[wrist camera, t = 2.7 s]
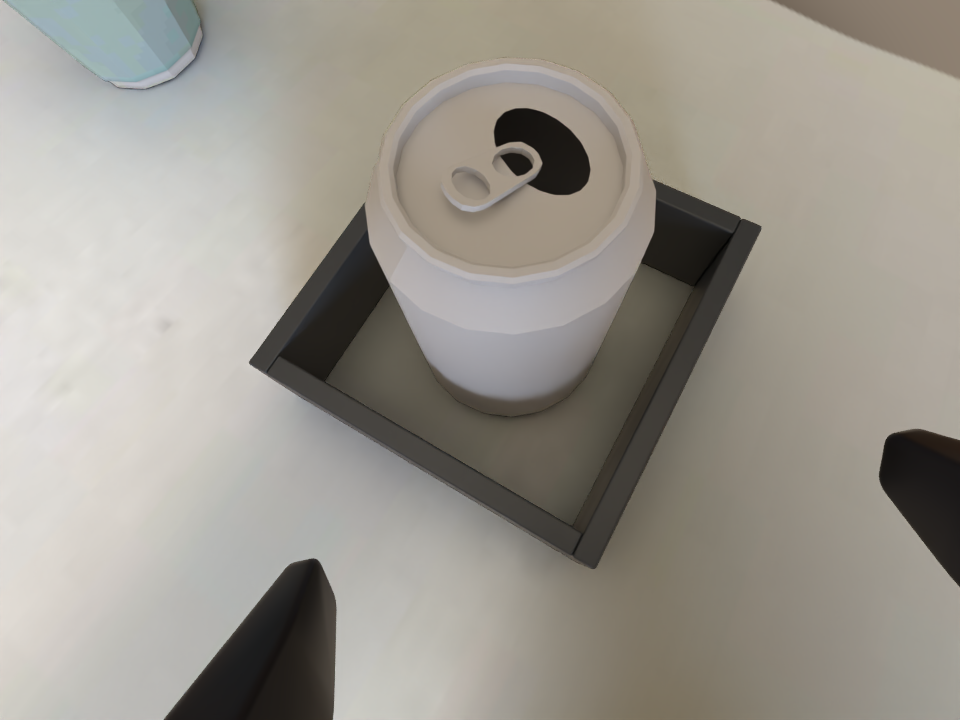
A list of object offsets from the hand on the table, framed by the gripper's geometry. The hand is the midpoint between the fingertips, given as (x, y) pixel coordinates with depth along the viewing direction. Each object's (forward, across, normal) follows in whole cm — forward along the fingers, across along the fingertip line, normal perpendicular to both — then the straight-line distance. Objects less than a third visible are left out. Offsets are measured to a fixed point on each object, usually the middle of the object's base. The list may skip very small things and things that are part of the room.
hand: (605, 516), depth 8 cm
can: (+15, 0, +4) cm, 16 cm away
